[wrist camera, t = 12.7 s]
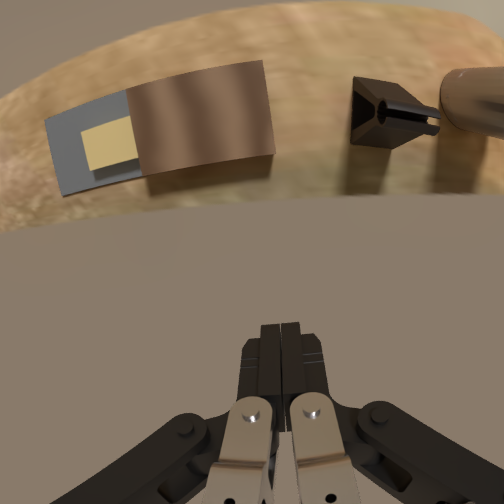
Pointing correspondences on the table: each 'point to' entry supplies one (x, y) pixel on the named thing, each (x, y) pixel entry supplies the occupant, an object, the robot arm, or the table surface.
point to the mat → (72, 148)
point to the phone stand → (387, 115)
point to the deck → (201, 117)
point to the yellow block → (109, 143)
